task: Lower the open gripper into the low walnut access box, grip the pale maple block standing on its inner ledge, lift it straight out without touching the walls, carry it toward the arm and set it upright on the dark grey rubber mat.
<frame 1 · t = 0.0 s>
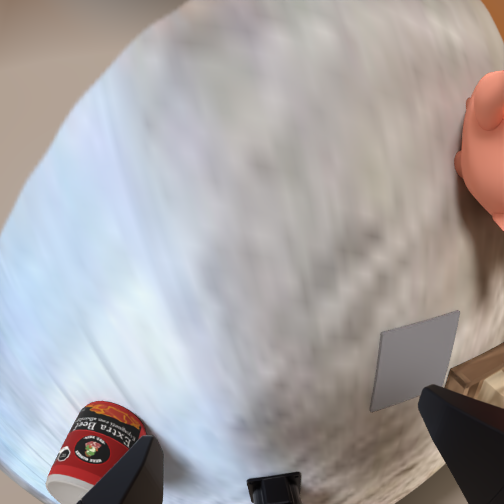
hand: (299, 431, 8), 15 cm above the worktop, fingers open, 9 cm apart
canned food: (114, 424, 24), on the worktop
rubber mat: (416, 362, 26), on the worktop
maple block: (488, 386, 27), point 2 cm above the worktop, touching access box
access box: (480, 379, 28), on the worktop
teapot: (479, 154, 22), on the worktop
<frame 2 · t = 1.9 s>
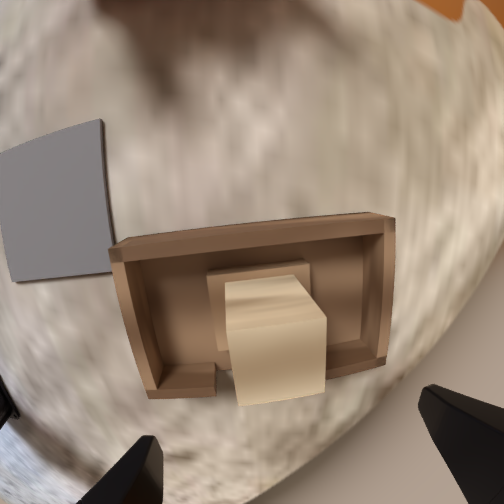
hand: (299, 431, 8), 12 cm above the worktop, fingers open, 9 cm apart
rubber mat: (47, 206, 17), on the worktop
maple block: (262, 310, 18), point 2 cm above the worktop, touching access box
access box: (258, 298, 20), on the worktop
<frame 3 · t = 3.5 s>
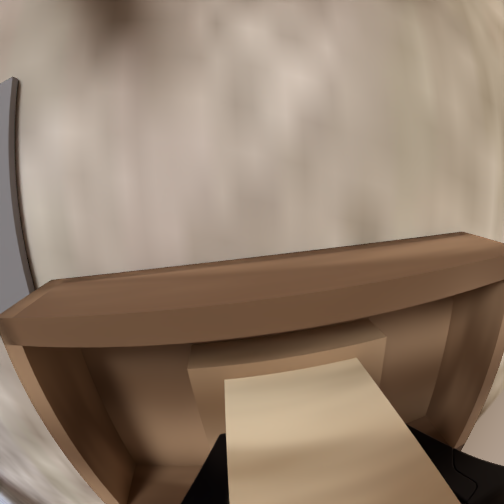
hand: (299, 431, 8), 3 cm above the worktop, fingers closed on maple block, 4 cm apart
maple block: (294, 416, 9), point 2 cm above the worktop, touching access box, gripper
access box: (284, 382, 10), on the worktop
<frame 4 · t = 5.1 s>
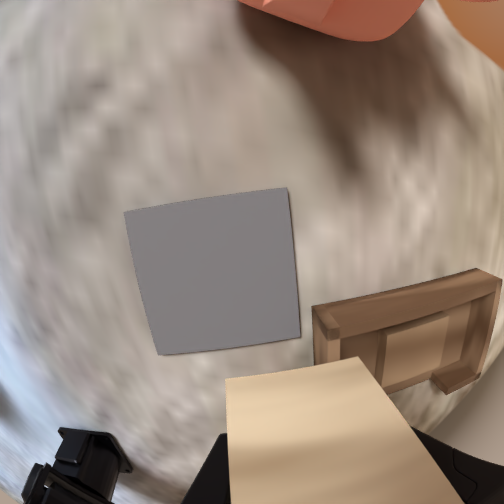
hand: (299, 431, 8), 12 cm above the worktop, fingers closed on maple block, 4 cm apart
rubber mat: (215, 277, 19), on the worktop
maple block: (295, 415, 9), point 11 cm above the worktop, touching gripper
access box: (404, 341, 21), on the worktop
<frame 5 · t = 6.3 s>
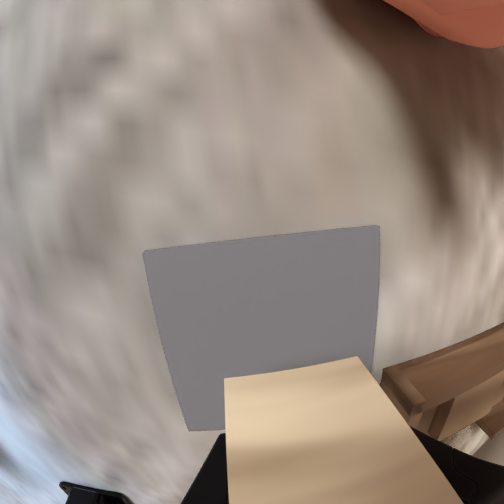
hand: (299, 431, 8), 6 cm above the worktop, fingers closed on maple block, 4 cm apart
rubber mat: (274, 343, 13), on the worktop
maple block: (294, 415, 8), point 5 cm above the worktop, touching gripper
access box: (461, 390, 16), on the worktop
when the fingers open (3 cm above the worktop, at t = 7.1 s): maple block drops 2 cm, resting on rubber mat.
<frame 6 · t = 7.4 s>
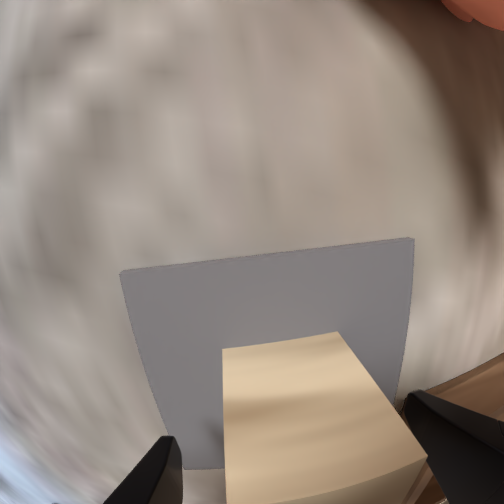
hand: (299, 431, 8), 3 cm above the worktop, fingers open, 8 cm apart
rubber mat: (284, 380, 11), on the worktop
maple block: (284, 385, 10), resting on rubber mat
access box: (480, 411, 13), on the worktop
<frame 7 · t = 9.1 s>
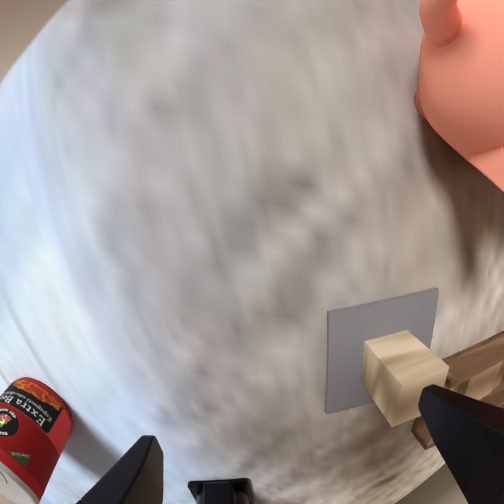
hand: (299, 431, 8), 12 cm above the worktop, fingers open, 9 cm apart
canned food: (43, 405, 21), on the worktop
rubber mat: (382, 354, 22), on the worktop
maple block: (384, 356, 21), resting on rubber mat
access box: (472, 377, 24), on the worktop
teapot: (449, 96, 18), on the worktop
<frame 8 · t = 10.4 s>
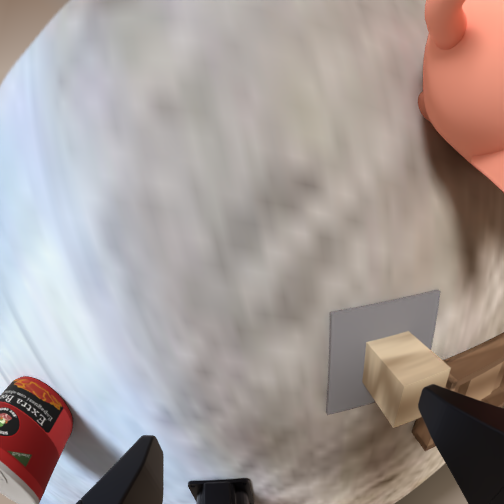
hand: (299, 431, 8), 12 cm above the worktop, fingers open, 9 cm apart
canned food: (43, 404, 20), on the worktop
rubber mat: (384, 355, 22), on the worktop
maple block: (385, 357, 21), resting on rubber mat
access box: (472, 378, 24), on the worktop
teapot: (453, 99, 18), on the worktop
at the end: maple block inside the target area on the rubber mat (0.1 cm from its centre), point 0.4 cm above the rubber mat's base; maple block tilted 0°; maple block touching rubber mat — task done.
